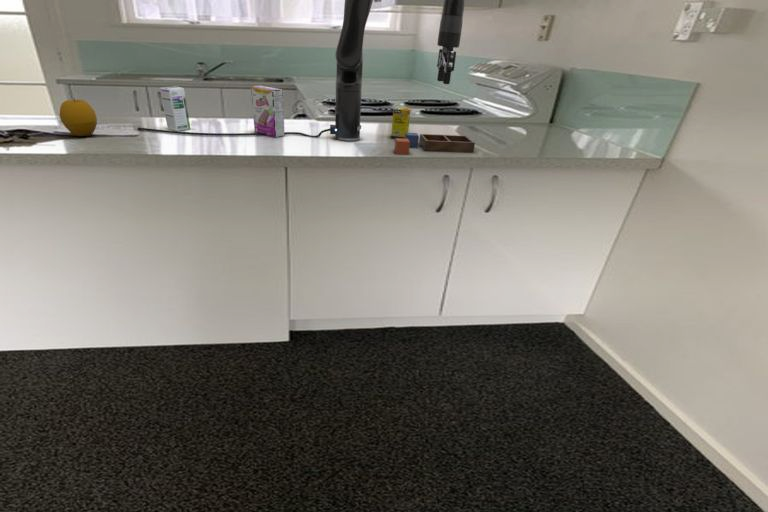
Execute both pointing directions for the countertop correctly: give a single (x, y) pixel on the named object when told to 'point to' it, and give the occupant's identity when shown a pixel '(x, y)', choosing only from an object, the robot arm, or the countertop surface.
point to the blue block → (412, 139)
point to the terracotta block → (401, 146)
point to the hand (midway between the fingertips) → (443, 82)
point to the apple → (78, 117)
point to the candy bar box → (268, 110)
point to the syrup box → (175, 108)
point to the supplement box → (400, 122)
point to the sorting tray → (446, 143)
